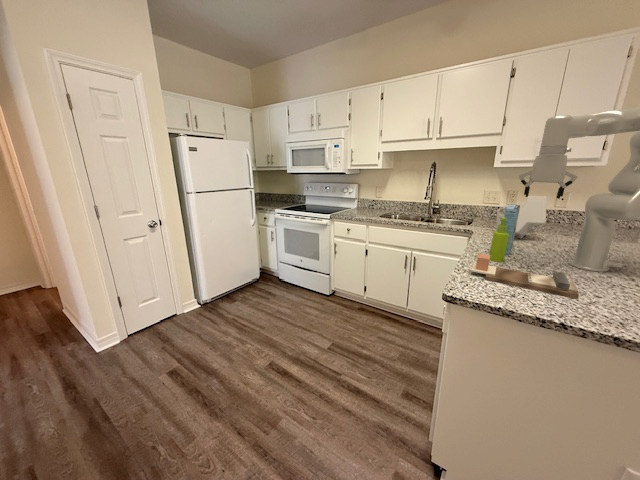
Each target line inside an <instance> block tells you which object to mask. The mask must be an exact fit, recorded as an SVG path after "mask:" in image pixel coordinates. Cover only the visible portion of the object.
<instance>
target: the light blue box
mask: <svg viewBox="0 0 640 480" xmlns="http://www.w3.org/2000/svg"><path fill="white" fill-rule="evenodd" d="M507 206H508V207H507V208H506V209H505V215H504V217H505V218H507V219H508V220H506V224H505V225H507V231H506V233H509V238H508V243H507V248H506V253H505V256H509V255H510V253H511V250H512V249H513V245H514V240H515V237H516V236H515V231H516V225H517V220H518V215H519V209H520V207H521V205H520V204H519V205H517V204H508V205H507Z"/></svg>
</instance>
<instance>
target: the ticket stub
mask: <svg viewBox="0 0 640 480" xmlns="http://www.w3.org/2000/svg"><path fill="white" fill-rule="evenodd" d="M490 256H491V255H490V254H486V253H485V254H484V253H478V256H477V260H476V262H474V263H473V265H472V268H471V270H470V272H472V273H478V274H483V275H486V274H487V275H492V276H495V272H496V267H497V266H493V265H490V262H491V260H490Z"/></svg>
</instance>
